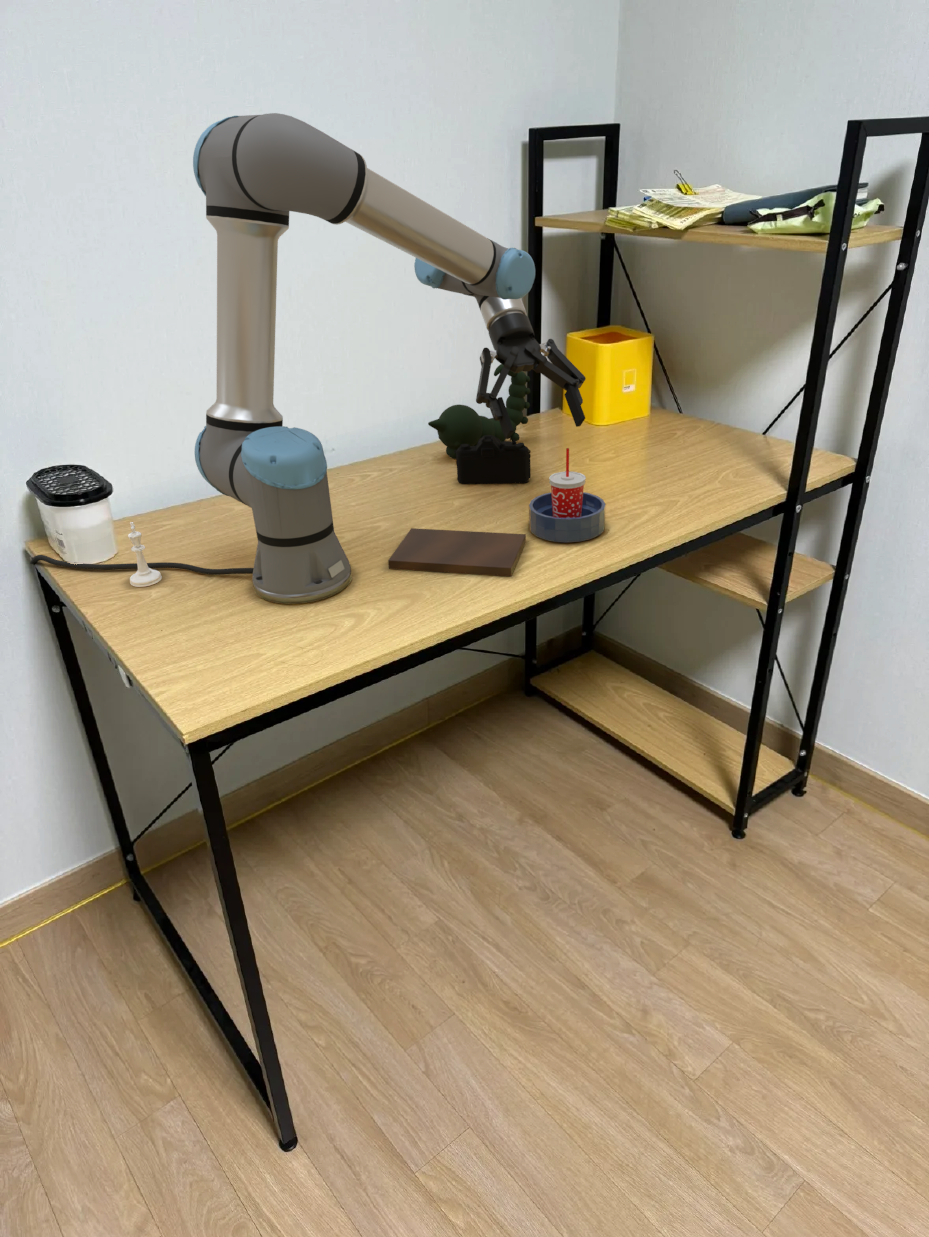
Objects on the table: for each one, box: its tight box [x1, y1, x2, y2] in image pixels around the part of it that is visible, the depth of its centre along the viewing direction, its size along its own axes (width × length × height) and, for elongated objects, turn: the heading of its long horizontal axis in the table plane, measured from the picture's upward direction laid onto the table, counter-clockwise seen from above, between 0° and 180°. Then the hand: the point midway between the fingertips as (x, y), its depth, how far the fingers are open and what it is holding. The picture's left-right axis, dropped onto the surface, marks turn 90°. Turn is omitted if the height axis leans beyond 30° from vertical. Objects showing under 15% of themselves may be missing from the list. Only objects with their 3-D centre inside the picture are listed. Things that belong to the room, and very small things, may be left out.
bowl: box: [528, 491, 607, 543], centre depth 149 cm, size 13×13×4 cm
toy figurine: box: [427, 363, 531, 460], centre depth 184 cm, size 9×19×25 cm
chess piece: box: [127, 521, 163, 588], centre depth 138 cm, size 5×5×10 cm
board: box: [387, 527, 527, 577], centre depth 143 cm, size 20×13×2 cm, turn 77°
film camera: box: [454, 435, 532, 485], centre depth 173 cm, size 15×10×9 cm, turn 84°
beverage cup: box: [548, 447, 587, 518], centre depth 147 cm, size 6×6×14 cm
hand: (545, 429), depth 150 cm, fingers open, 13 cm apart
